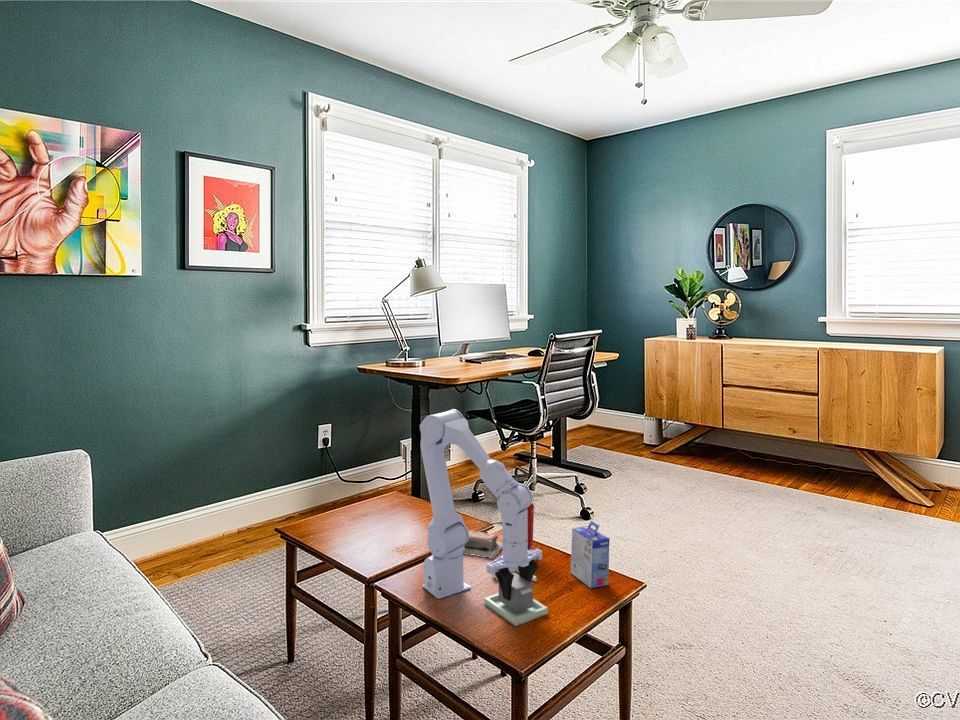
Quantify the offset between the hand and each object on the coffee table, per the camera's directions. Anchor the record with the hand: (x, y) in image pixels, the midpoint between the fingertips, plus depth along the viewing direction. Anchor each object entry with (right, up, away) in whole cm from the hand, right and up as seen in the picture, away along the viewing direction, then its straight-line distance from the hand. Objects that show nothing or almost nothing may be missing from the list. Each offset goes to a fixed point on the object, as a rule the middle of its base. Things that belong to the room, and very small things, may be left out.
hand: (515, 595), depth 140 cm
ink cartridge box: (+20, -2, +15) cm, 25 cm away
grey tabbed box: (0, -2, 0) cm, 2 cm away
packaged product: (-11, -1, +36) cm, 37 cm away
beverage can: (+4, 0, +32) cm, 32 cm away
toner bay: (+1, -2, +15) cm, 15 cm away
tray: (0, -3, 0) cm, 3 cm away
